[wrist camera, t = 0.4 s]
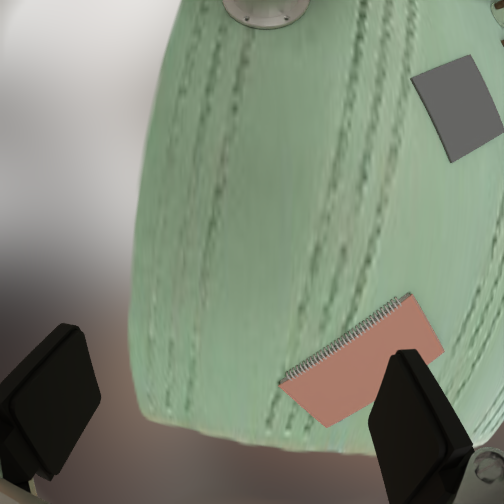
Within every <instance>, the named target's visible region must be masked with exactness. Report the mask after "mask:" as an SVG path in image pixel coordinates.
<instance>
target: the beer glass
mask: <svg viewBox="0 0 504 504" xmlns="http://www.w3.org/2000/svg"><path fill="white" fill-rule="evenodd" d="M491 10H492V13H493V16H494V17H495V19H496V20H497V22H498V23H499V24H500V25H501V26H502V27H504V0H501V1H496V2H493V3H492V5H491Z"/></svg>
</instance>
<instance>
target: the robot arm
mask: <svg viewBox="0 0 504 504" xmlns="http://www.w3.org/2000/svg"><path fill="white" fill-rule="evenodd" d="M222 1H223V5H224V7H225V9H226V11H227V12H228V13H229V15H230V16H231V17H233V18H234V19H235V20H236V21H238V22H240V23H241V24H244V25H246V26H249V27H253V28H258V29H276V28H280V27H284V26H287V25H289V24H292V23H293V22H295V21H297V20H298V19H299V18H300V17H301V16H302V15H303V14H304V13H305V11H306V10H307V8H308V5H309V1H310V0H222ZM285 19H287V20H288V21H286V20H285ZM245 20H248V21H245ZM100 400H101V394H100V390H99V387H98V384H97V381H96V377H95V374H94V370H93V366H92V363H91V359H90V355H89V352H88V347H87V343H86V339H85V335H84V333H83V332H82V331H81V330H80V328H79V327H78V326H76V325H70V324H65V323H61V324H60V325H58V326H57V327H56V328H55V329H54V330H53V331H52V332H51V333H50V334H49V335H48V336H47V337H46V338H45V339H44V340H43V341H42V342H41V343H40V344H39V345H38V346H37V347H36V348H35V349H34V350H33V351H32V352H31V353H30V354H29V355H28V356H27V357H26V358H25V359H24V360H23V361H22V362H21V363H20V364H19V365H18V366H17V367H16V368H15V369H14V370H13V371H12V372H11V373H10V374H9V375H8V376H7V377H6V378H5V379H4V380H3V381H2V382H1V384H0V504H51V503H49V502H46V501H44V500H42V499H40V498H38V496H37V492H36V488H35V484H34V480H33V476H34V475H35V473H36V474H37V475H38V476H40V477H42V478H45V479H47V480H49V481H51V480H52V478H53V476H54V475H57V474H59V473H60V471H61V469H62V467H63V465H64V464H65V462H66V460H67V459H68V457H69V455H70V453H71V452H72V450H73V448H74V446H75V444H76V443H77V441H78V439H79V438H80V436H81V434H82V432H83V431H84V429H85V427H86V425H87V424H88V422H89V421H90V419H91V417H92V416H93V414H94V412H95V411H96V409H97V407H98V406H99V404H100ZM368 427H369V430H370V434H371V437H372V441H373V444H374V448H375V451H376V455H377V458H378V462H379V465H380V469H381V473H382V476H383V480H384V484H385V488H386V492H387V496H388V500H389V504H504V452H503V451H501V450H499V449H497V448H492V447H484V448H481V449H479V450H476V451H474V449H473V447H472V446H473V443H472V441H471V440H470V438H469V436H468V434H467V432H466V430H465V429H464V427H463V425H462V423H461V422H460V420H459V418H458V416H457V414H456V413H455V411H454V409H453V408H452V406H451V404H450V402H449V401H448V399H447V397H446V396H445V394H444V392H443V391H442V389H441V387H440V386H439V384H438V382H437V381H436V379H435V378H434V376H433V374H432V373H431V371H430V369H429V368H428V366H427V365H426V363H425V362H424V360H423V358H422V357H421V355H420V354H419V352H418V351H417V350H416V349H402V350H397V352H396V353H395V355H391V357H390V359H389V362H388V365H387V368H386V371H385V374H384V377H383V380H382V383H381V386H380V388H379V391H378V394H377V397H376V399H375V402H374V405H373V407H372V410H371V413H370V415H369V419H368Z"/></svg>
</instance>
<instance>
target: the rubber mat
mask: <svg viewBox="0 0 504 504" xmlns="http://www.w3.org/2000/svg"><path fill="white" fill-rule="evenodd" d="M411 81H412V83H413V85H414V87H415V89H416V90H417V92H418V94H419V96H420V98H421V100H422V102H423V104H424V106H425V108H426V110H427V112H428V114H429V116H430V118H431V120H432V122H433V124H434V126H435V128H436V131H437V133H438V135H439V137H440V139H441V142H442V144H443V146H444V149H445V151H446V154H447V156H448V158H449V161H450V163H453V162H454V161H456V160H458V159H460V158H461V157H463V156H465V155H466V154H468V153H470V152H472V151H473V150H475V149H477V148H478V147H480V146H482V145H483V144H485V143H487V142H488V141H490V140H492V139H494V138H495V137H497V136H499V135H500V134H502V133H504V127H503V124H502V121H501V119H500V116H499V114H498V111H497V109H496V106H495V104H494V102H493V99H492V97H491V95H490V93H489V90H488V88H487V86H486V84H485V82H484V80H483V78H482V76H481V74H480V72H479V70H478V68H477V66H476V64H475V62H474V60H473V58H472V56H471V54H470V55H467V56H465V57H462V58H460V59H457V60H454V61H452V62H449V63H447V64H444V65H442V66H439V67H437V68H434V69H432V70H430V71H427V72H425V73H422V74H420V75H418V76H415V77H413V78H411Z"/></svg>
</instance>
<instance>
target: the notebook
mask: <svg viewBox="0 0 504 504" xmlns="http://www.w3.org/2000/svg"><path fill="white" fill-rule="evenodd" d="M394 298H395V299H396V300H397V301H396V302H395V303H394V301H393V300H392V299H391V301H392V303H393V304H392V305H390V303H389V302H388V305H389V306H390V307H388V308H387V307H386V305H384V307H385V308H386V310H385V311H384V310H383V309H382V307H381V308H380V309H381V310H382V313H381V314H380V312H379V311H378V310H377V312H378V314H379V315H378V316H376V314H375V313H373V314H374V316H375V318H374V319H373V318H372V316H371V315H370V318H371V319H372V320H371V321H369V320H368V318H366V320H367V321H368V323H367V324H366V323H365V322H364V321H363V323H364V326H363V327H362V325H361V323H359V325H360V327H361V328H360V329H358V327H357V326H356V329H357V331H356V332H355V331H354V329H353V328H352V331H353V332H354V333H353V334H351V333H350V331H348V332H349V334H350V336H349V337H348V336H347V334H346V333H345V336H346V339H344V338H343V335H342V336H341V337H342V340H343V341H340V339H339V338H338V341H339V343H338V344H337V343H336V340H335V341H334V343H335V346H334V347H333V345H332V343H331V346H332V348H331V349H330V348H329V345H327V348H328V351H326V350H325V348H324V351H325V353H322V350H320V352H321V355H320V356H319V354H318V352H317V356H318V357H317V358H315V354H314V355H313V357H314V360H312V359H311V357H310V360H311V362H308V359H306V361H307V364H306V365H305V363H304V361H303V365H304V366H303V367H302V366H301V363H300V369H298V367H297V366H298V365H297V366H296V369H297V370H296V371H295V370H294V367H293V371H294V372H293V373H291V369H290V370H289V372H290V375H288V373H287V372H288V371H287V372H286V375H287V377H285V378H283V379H282V380H280V385H278V386H279V387H280V388H281V389H282V390H283V391H285V392H286V393H287V394H288V395H289V396H290V397H291V398H292V399H293V400H295V401H296V402H297V403H298V404H299V405H300V406H301V407H303V408H304V409H305V410H306V411H307V412H308V413H309V414H311V415H312V416H313V417H314V418H315V419H316V420H318V421H319V422H320V423H321V424H322V425H324V426H325V427H326V428H328V427H330V426H332V425H333V424H335V423H337V422H339V421H341V420H343V419H344V418H346V417H348V416H350V415H352V414H353V413H355V412H357V411H358V410H360V409H362V408H364V407H365V406H367V405H369V404H370V403H372V402H373V401H375V399H376V397H377V394H378V391H379V388H380V386H381V383H382V380H383V377H384V374H385V371H386V368H387V365H388V362H389V359H390V357H391V355H395V353H396V352H397V350H402V349H416V350H417V351H418V352H419V354H420V355H421V357H422V358H423V360H424V362H425V363H426V365H428V364H429V363H431V362H432V361H433V360H435V359H436V358H437V357H439V356H440V355H441V354H442V353H444V352H445V351H444V349H443V347H442V345H441V343H440V341H439V339H438V338H437V336H436V334H435V332H434V330H433V328H432V327H431V325H430V323H429V321H428V320H427V318H426V316H425V314H424V313H423V311H422V309H421V307H420V306H419V304H418V302H417V301H416V299H415V297H414V296H413V294H411V295H409V294H408V293H406V294H405V295H404V296H403V297H401V298H400V299H399V300H398V299H397V298H396V297H394Z"/></svg>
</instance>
